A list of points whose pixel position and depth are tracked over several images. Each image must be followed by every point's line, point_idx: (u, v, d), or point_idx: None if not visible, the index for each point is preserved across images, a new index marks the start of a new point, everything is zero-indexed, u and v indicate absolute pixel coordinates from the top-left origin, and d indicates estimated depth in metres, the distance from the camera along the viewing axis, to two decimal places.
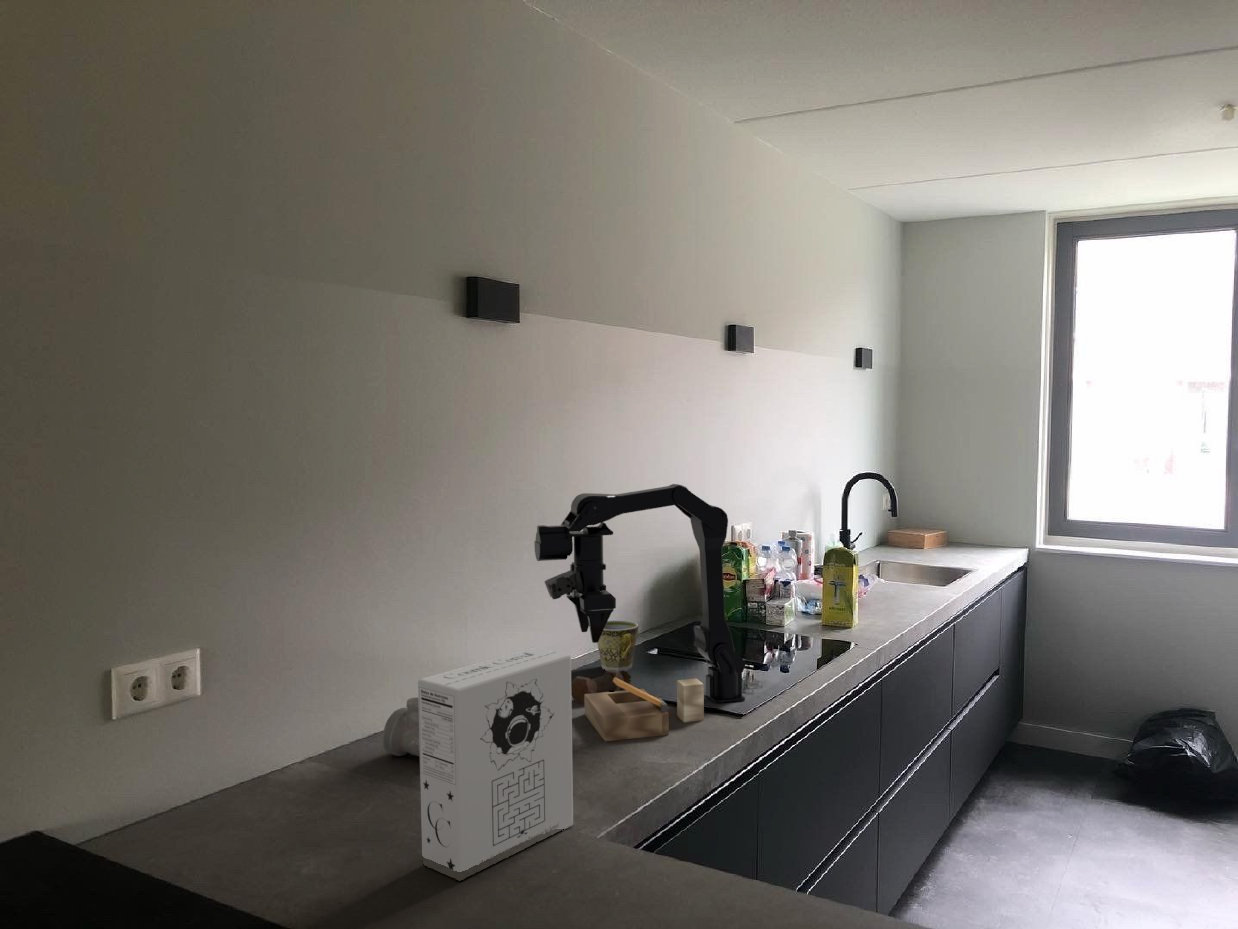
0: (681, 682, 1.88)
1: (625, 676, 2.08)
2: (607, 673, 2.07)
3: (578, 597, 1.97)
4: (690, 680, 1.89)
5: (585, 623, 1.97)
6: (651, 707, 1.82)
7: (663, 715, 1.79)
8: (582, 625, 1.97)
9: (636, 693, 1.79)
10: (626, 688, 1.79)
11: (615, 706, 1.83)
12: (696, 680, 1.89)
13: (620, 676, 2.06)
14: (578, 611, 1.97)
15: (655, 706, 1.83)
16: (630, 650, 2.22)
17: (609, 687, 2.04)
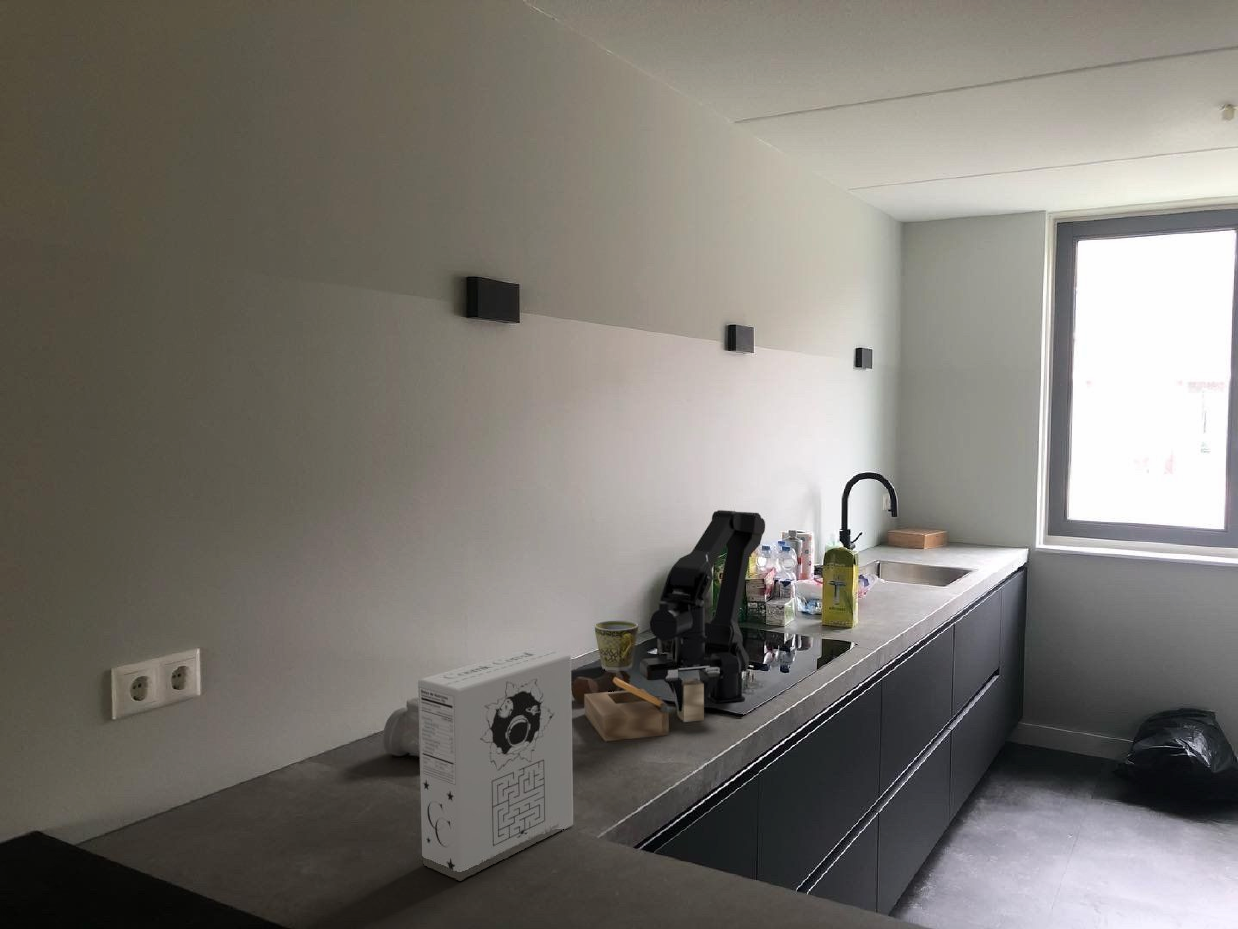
0: None
1: (625, 676, 2.08)
2: (607, 673, 2.07)
3: (702, 671, 1.90)
4: (690, 680, 1.89)
5: None
6: (651, 707, 1.82)
7: (663, 715, 1.79)
8: None
9: (636, 693, 1.79)
10: (626, 688, 1.79)
11: (615, 706, 1.83)
12: (696, 680, 1.89)
13: (620, 676, 2.06)
14: None
15: (655, 706, 1.83)
16: (630, 650, 2.22)
17: (609, 687, 2.04)
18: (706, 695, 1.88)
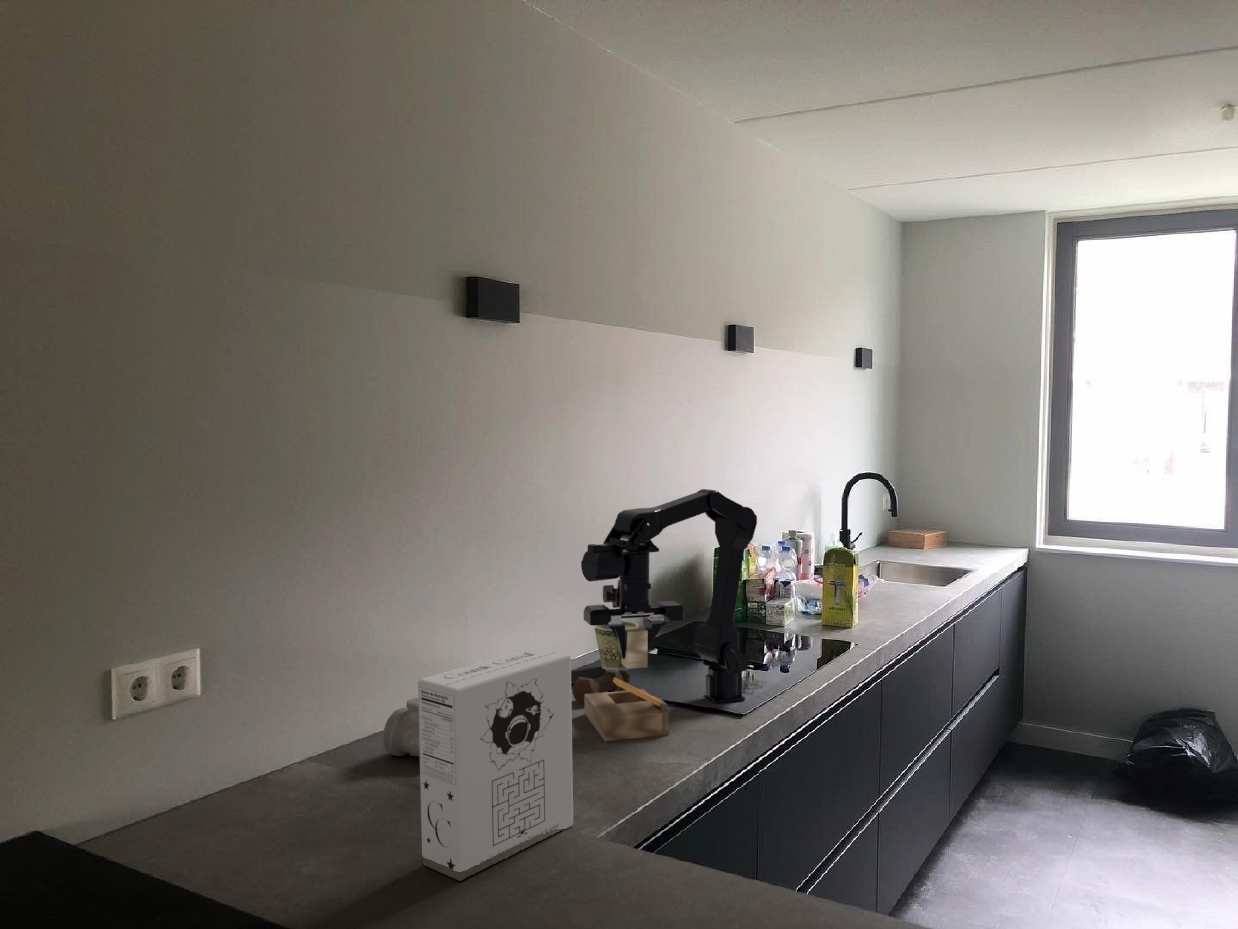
0: (625, 629, 1.87)
1: (624, 676, 2.08)
2: (607, 673, 2.07)
3: (646, 619, 1.89)
4: (634, 627, 1.89)
5: None
6: (651, 707, 1.82)
7: (663, 715, 1.79)
8: None
9: (636, 693, 1.79)
10: (626, 688, 1.79)
11: (615, 706, 1.83)
12: (640, 628, 1.89)
13: (620, 676, 2.06)
14: None
15: (655, 706, 1.83)
16: None
17: (610, 687, 2.04)
18: (650, 642, 1.87)
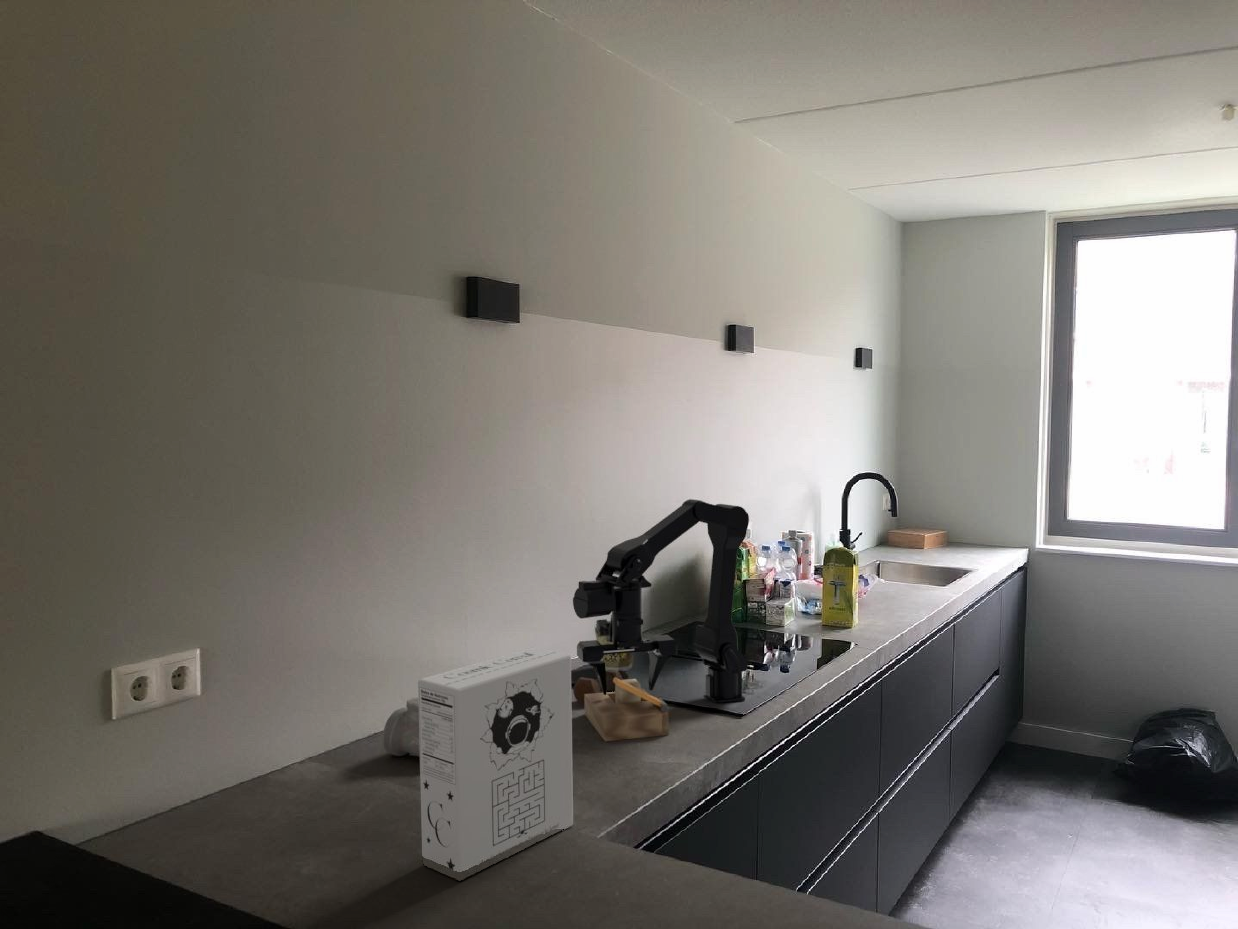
0: None
1: (623, 676, 2.09)
2: (606, 673, 2.07)
3: (652, 653, 1.91)
4: (628, 680, 1.90)
5: (650, 681, 1.89)
6: (651, 707, 1.82)
7: (663, 715, 1.79)
8: (649, 682, 1.90)
9: (636, 693, 1.79)
10: (626, 688, 1.79)
11: (615, 706, 1.83)
12: (634, 680, 1.90)
13: (619, 676, 2.06)
14: (649, 667, 1.91)
15: (655, 706, 1.83)
16: None
17: (610, 687, 2.04)
18: (656, 676, 1.89)
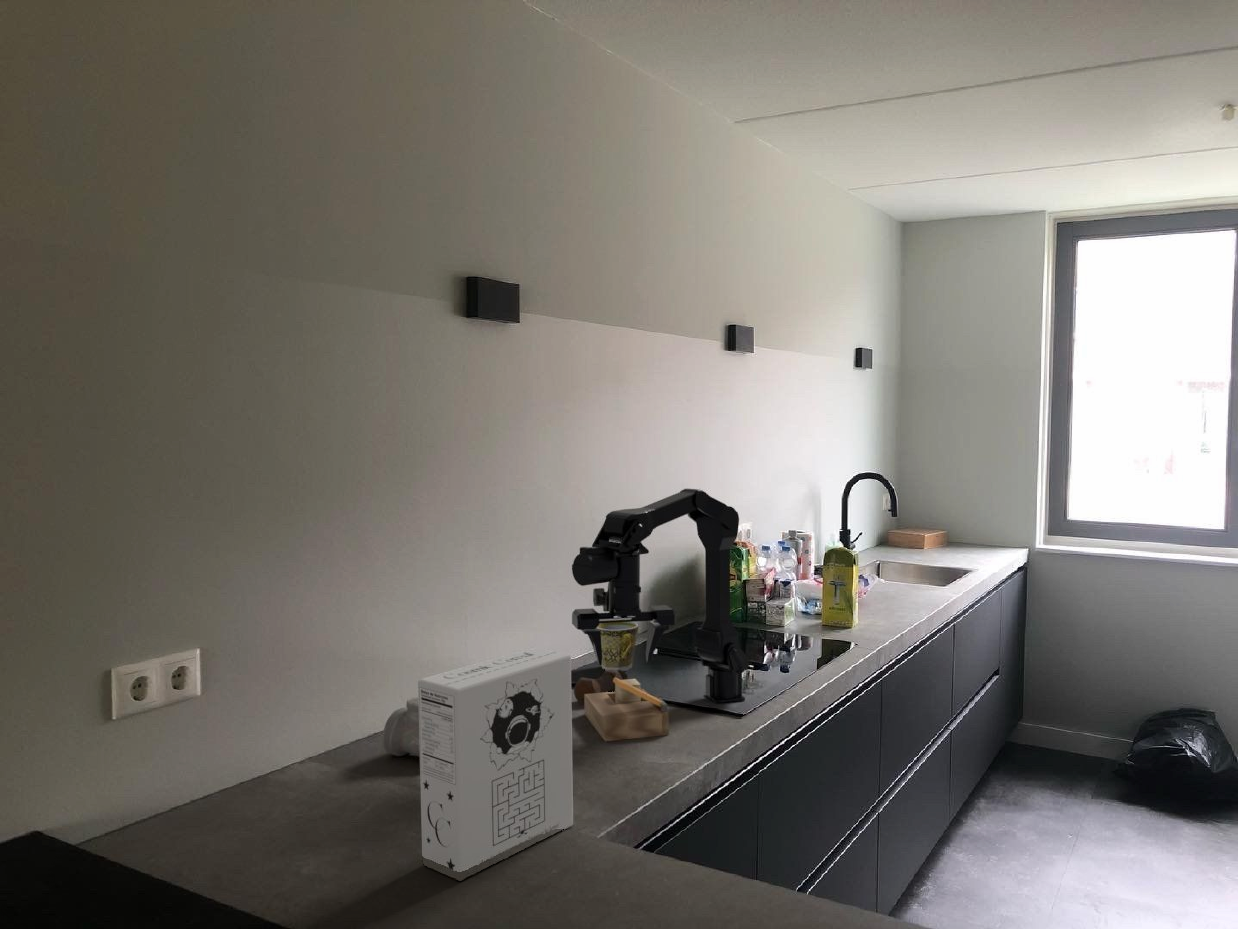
0: None
1: (623, 676, 2.09)
2: (606, 673, 2.07)
3: (650, 623, 1.84)
4: (628, 680, 1.90)
5: (647, 653, 1.83)
6: (651, 707, 1.82)
7: (663, 715, 1.79)
8: (647, 654, 1.83)
9: (636, 693, 1.79)
10: (626, 688, 1.79)
11: (615, 706, 1.83)
12: (634, 680, 1.90)
13: (619, 676, 2.06)
14: (647, 638, 1.84)
15: (655, 706, 1.83)
16: (630, 650, 2.22)
17: (610, 687, 2.04)
18: (653, 647, 1.82)
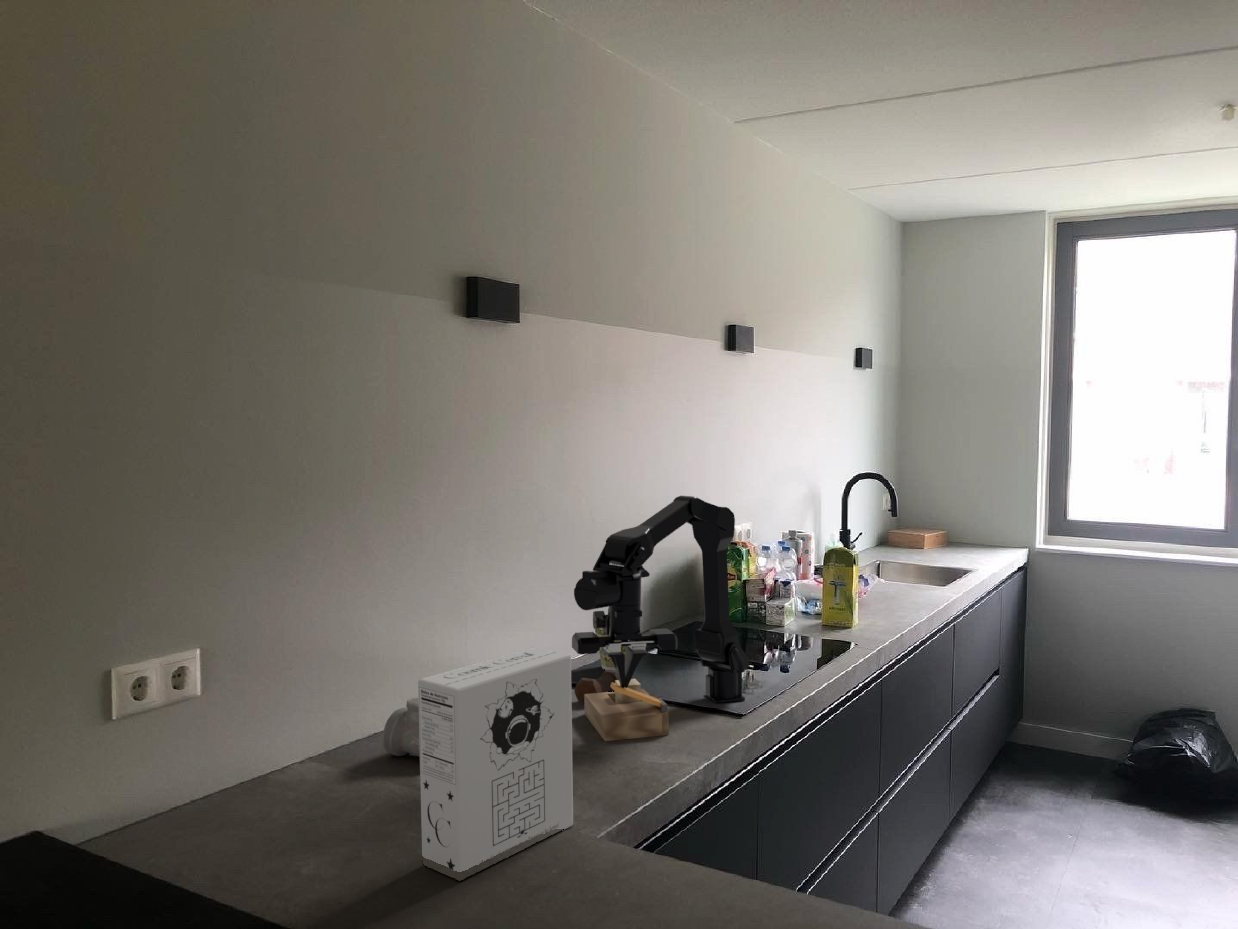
0: (619, 682, 1.88)
1: None
2: (606, 673, 2.07)
3: (628, 648, 1.81)
4: None
5: (625, 678, 1.80)
6: (651, 707, 1.82)
7: (663, 715, 1.79)
8: None
9: (634, 696, 1.79)
10: (624, 692, 1.79)
11: (615, 706, 1.83)
12: (634, 680, 1.90)
13: None
14: (625, 663, 1.81)
15: (655, 706, 1.83)
16: None
17: (610, 687, 2.04)
18: (631, 673, 1.79)
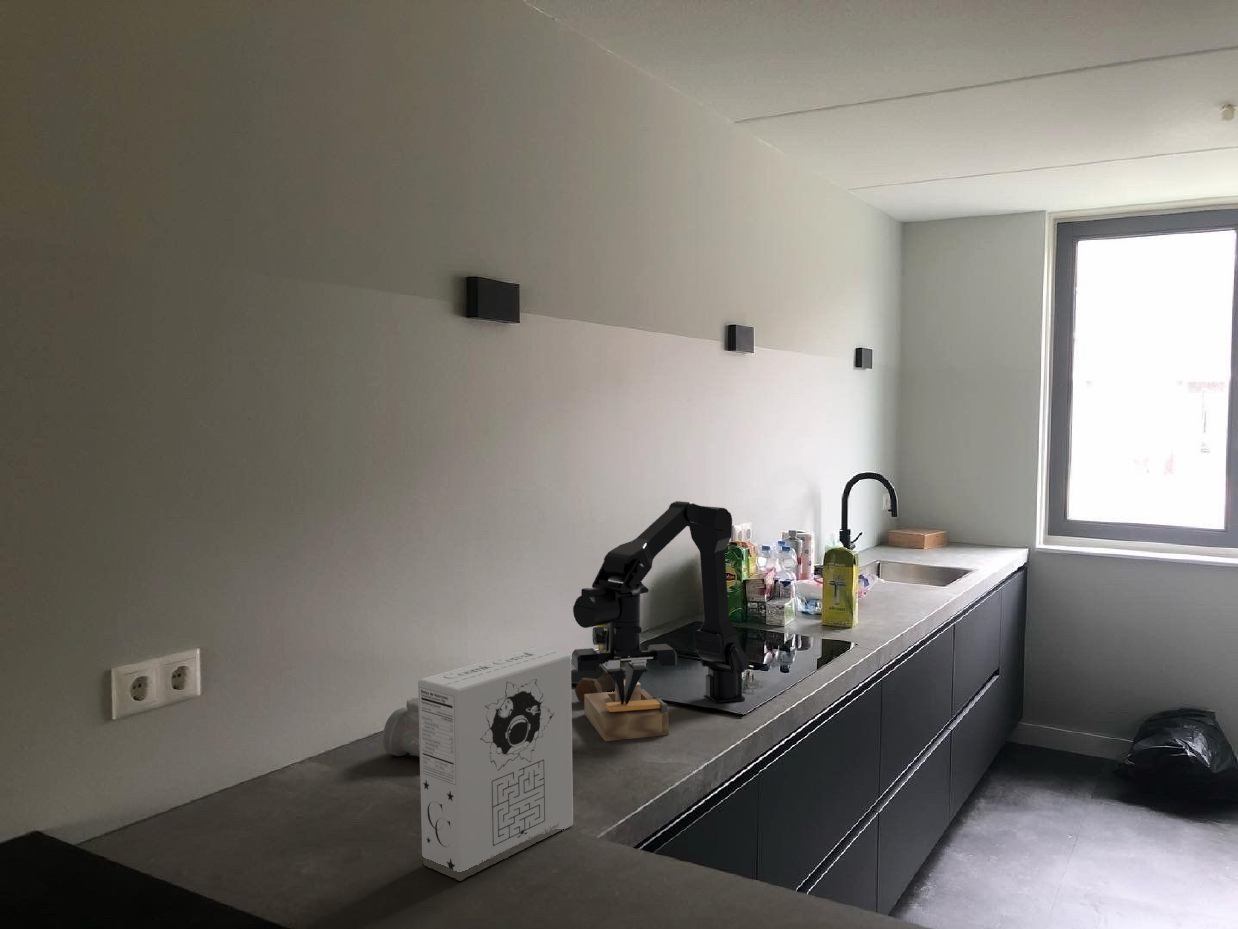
0: None
1: None
2: (605, 673, 2.07)
3: (628, 664, 1.81)
4: None
5: (625, 694, 1.80)
6: None
7: (663, 715, 1.79)
8: (625, 695, 1.81)
9: (631, 709, 1.79)
10: (620, 709, 1.78)
11: None
12: None
13: None
14: (625, 679, 1.81)
15: None
16: None
17: (610, 687, 2.04)
18: (632, 689, 1.79)
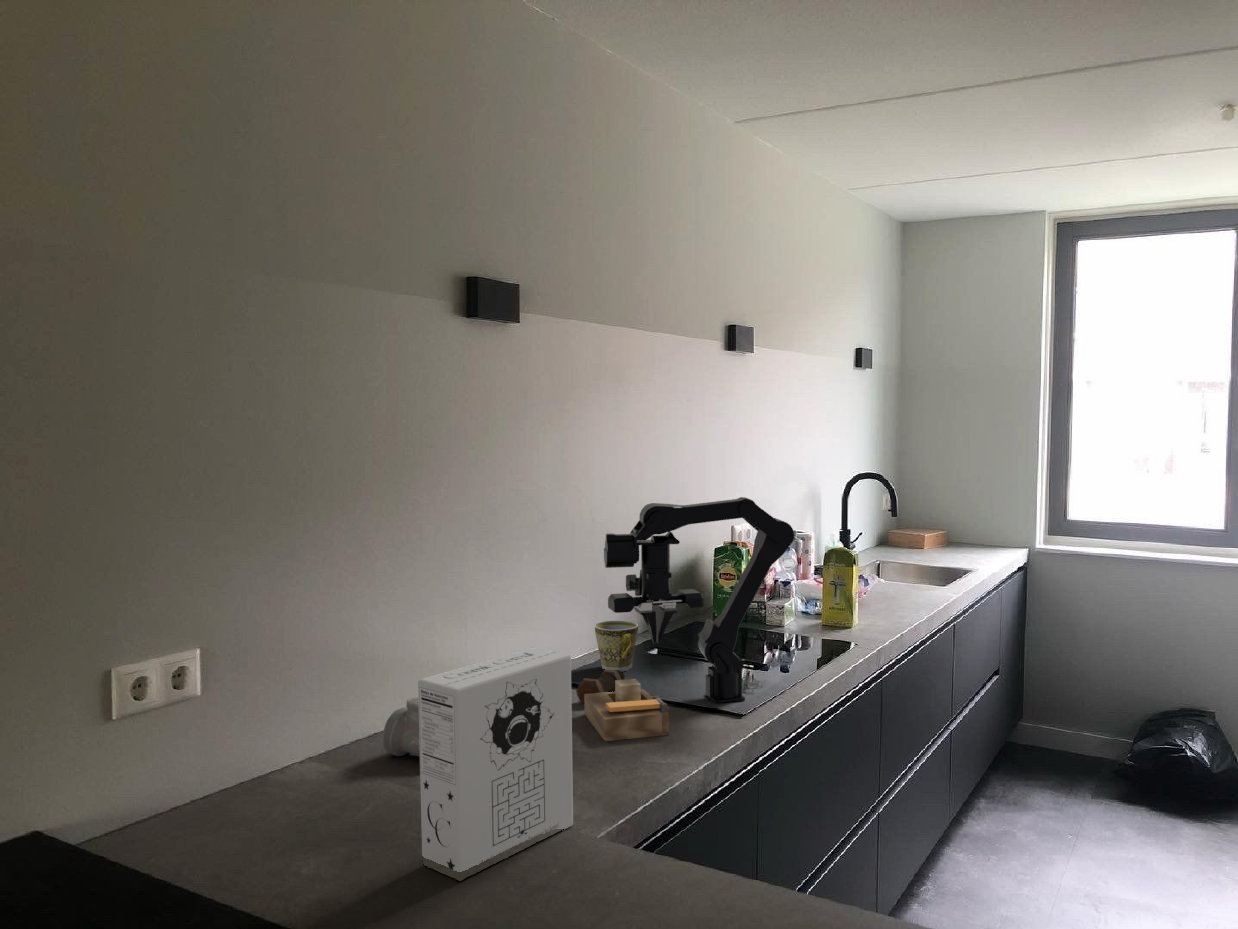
0: (619, 682, 1.88)
1: (620, 675, 2.09)
2: (605, 673, 2.06)
3: (659, 607, 1.99)
4: (628, 680, 1.90)
5: (657, 634, 1.98)
6: None
7: (663, 715, 1.79)
8: (657, 635, 1.99)
9: (631, 709, 1.79)
10: (620, 709, 1.78)
11: None
12: (634, 680, 1.90)
13: (618, 675, 2.07)
14: (657, 620, 2.00)
15: None
16: (630, 650, 2.22)
17: (610, 687, 2.04)
18: (663, 629, 1.97)
